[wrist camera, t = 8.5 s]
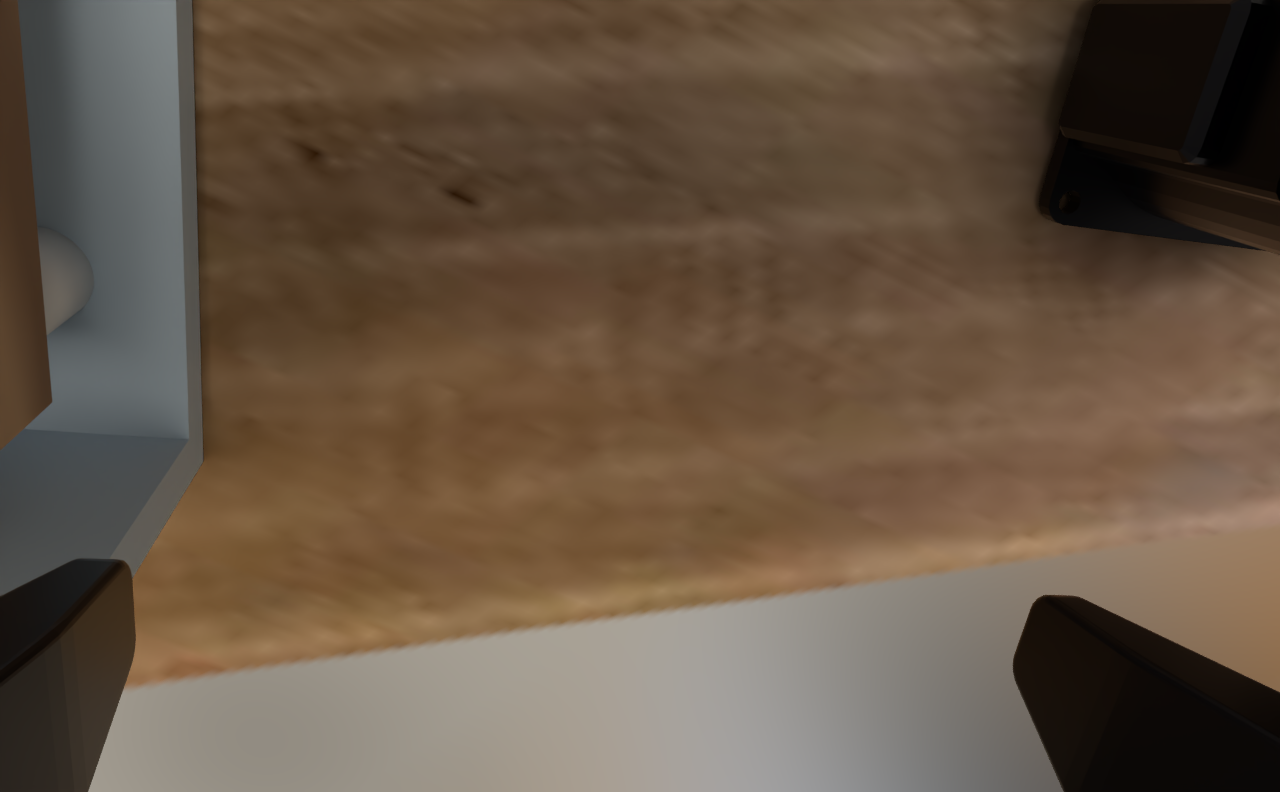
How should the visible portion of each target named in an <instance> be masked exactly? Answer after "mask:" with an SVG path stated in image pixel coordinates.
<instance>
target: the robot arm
mask: <svg viewBox="0 0 1280 792" xmlns="http://www.w3.org/2000/svg"><path fill="white" fill-rule="evenodd" d="M1059 126H1060V132H1059V135H1058V139H1057V142H1056V145H1055V148H1054V152H1053V155H1052V158H1051V162H1050V165H1049V168H1048V172H1047V175H1046V178H1045V182H1044V185H1043V188H1042V192H1041V195H1040V201H1039V207H1040V210H1041V213H1042V214H1043V215H1044V217H1045V218H1047V219H1049V220H1052V221H1055V222H1057V223H1060V224H1063V225H1069V226H1077V227H1085V228H1093V229H1100V230H1108V231H1116V232H1124V233H1131V234H1139V235H1147V236H1155V237H1162V238H1170V239H1178V240H1186V241H1193V242H1201V243H1209V244H1217V245H1224V246H1232V247H1240V248H1248V249H1255V250H1263V251H1269V252H1272V253H1275V254H1278V255H1280V0H1099V2H1098V3H1097V4H1096V5H1095V6H1094V8H1093V10H1092V14H1091V17H1090V20H1089V23H1088V27H1087V30H1086V33H1085V37H1084V40H1083V43H1082V47H1081V50H1080V53H1079V57H1078V60H1077V63H1076V67H1075V70H1074V73H1073V77H1072V80H1071V83H1070V87H1069V90H1068V93H1067V97H1066V100H1065V103H1064V107H1063V110H1062V113H1061V117H1060V120H1059ZM1068 191H1069V193H1070V201H1069V203H1068V205H1067V206H1066V207H1065V208H1063V209H1062V210H1061V209H1060V208H1059V203H1060V199H1061V198H1062V196H1063V195H1064V194H1065V193H1067V192H1068ZM135 641H136V634H135V617H134V600H133V583H132V573H131V570H130V567H129V565H128V564H127V563H126V562H125V561H124V560H119V559H99V558H77V559H74V560H71V561H69V562H67V563H65V564H63V565H61V566H59V567H57V568H55V569H53V570H51V571H49V572H47V573H45V574H43V575H41V576H39V577H37V578H35V579H33V580H31V581H29V582H27V583H25V584H23V585H21V586H19V587H17V588H16V589H14V590H12V591H10V592H8V593H6V594H4V595H2V596H0V792H88V790H89V787H90V785H91V782H92V779H93V776H94V773H95V770H96V767H97V764H98V761H99V758H100V755H101V753H102V749H103V746H104V744H105V741H106V738H107V735H108V732H109V729H110V726H111V723H112V721H113V717H114V715H115V712H116V709H117V706H118V703H119V700H120V697H121V694H122V691H123V689H124V686H125V683H126V680H127V677H128V674H129V671H130V668H131V665H132V661H133V657H134V651H135ZM1013 673H1014V678H1015V681H1016V684H1017V686H1018V689H1019V691H1020V693H1021V696H1022V698H1023V700H1024V702H1025V705H1026V707H1027V709H1028V711H1029V714H1030V716H1031V718H1032V721H1033V723H1034V725H1035V728H1036V730H1037V732H1038V734H1039V736H1040V739H1041V741H1042V744H1043V746H1044V748H1045V750H1046V753H1047V755H1048V757H1049V760H1050V762H1051V764H1052V766H1053V769H1054V771H1055V773H1056V776H1057V778H1058V780H1059V782H1060V785H1061V787H1062V789H1063V791H1064V792H1280V692H1278V691H1276V690H1273V689H1272V688H1270V687H1267V686H1265V685H1263V684H1261V683H1259V682H1257V681H1255V680H1253V679H1250V678H1248V677H1246V676H1244V675H1242V674H1240V673H1238V672H1236V671H1234V670H1232V669H1230V668H1228V667H1225V666H1223V665H1221V664H1219V663H1217V662H1215V661H1213V660H1211V659H1209V658H1206V657H1204V656H1202V655H1200V654H1198V653H1196V652H1194V651H1192V650H1190V649H1187V648H1185V647H1183V646H1181V645H1179V644H1177V643H1175V642H1173V641H1171V640H1169V639H1166V638H1164V637H1162V636H1160V635H1158V634H1156V633H1154V632H1152V631H1150V630H1148V629H1146V628H1143V627H1141V626H1139V625H1137V624H1135V623H1133V622H1131V621H1129V620H1126V619H1124V618H1122V617H1120V616H1118V615H1116V614H1114V613H1112V612H1110V611H1108V610H1106V609H1104V608H1101V607H1099V606H1097V605H1095V604H1093V603H1091V602H1089V601H1087V600H1085V599H1083V598H1080V597H1076V596H1066V595H1043V596H1041V597H1039V598H1038V599H1037V600H1036V601H1035V602H1034V603H1033V605H1032V607H1031V609H1030V612H1029V615H1028V618H1027V621H1026V623H1025V626H1024V629H1023V632H1022V635H1021V637H1020V640H1019V643H1018V646H1017V649H1016V652H1015V655H1014V659H1013Z"/></svg>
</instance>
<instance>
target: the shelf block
mask: <svg viewBox="0 0 1280 792" xmlns="http://www.w3.org/2000/svg"><path fill="white" fill-rule="evenodd" d="M51 403H52V391H51V379H50V368H49V356H48V345H47V333H46V322H45V310H44V299H43V287H42V276H41V264H40V252H39V241H38V229H37V218H36V206H35V195H34V183H33V172H32V160H31V149H30V137H29V126H28V114H27V102H26V91H25V79H24V68H23V56H22V45H21V33H20V22H19V10H18V0H0V450H1V449H3V448H4V447H5V446H6V445H7V444H8V443H9V442H10V441H11V440H12V439H13V438H14V437H15V436H17V435H18V434H19V433H20V432H21V431H22V430H23V429H24V428H25V427H26V426H27V425H28V424H29V423H31V422H32V421H33V420H34V419H35V418H36V417H37V416H38V415H39V414H40V413H41V412H42V411H44V410H45V409H46V408H47V407H48V406H49V405H50V404H51Z"/></svg>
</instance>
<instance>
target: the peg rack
mask: <svg viewBox="0 0 1280 792" xmlns="http://www.w3.org/2000/svg"><path fill="white" fill-rule="evenodd" d="M18 10H19V22H20V33H21V45H22V56H23V68H24V79H25V91H26V102H27V114H28V126H29V137H30V149H31V160H32V172H33V183H34V195H35V206H36V218H37V229H38V241H39V252H40V264H41V276H42V287H43V299H44V310H45V322H46V333H47V345H48V356H49V368H50V379H51V391H52V403H51V404H50V405H49V406H48V407H47V408H46V409H45V410H44V411H42V412H41V413H40V414H39V415H38V416H37V417H36V418H35V419H34V420H33V421H32V422H31V423H29V424H28V425H27V426H26V427H25V428H24V429H23V430H22V431H21V432H20V433H19V434H18V435H17V436H15V437H14V438H13V439H12V440H11V441H10V442H9V443H8V444H7V445H6V446H5V447H4V448H3V449H1V450H0V596H2V595H4V594H6V593H8V592H10V591H12V590H14V589H16V588H17V587H19V586H21V585H23V584H25V583H27V582H29V581H31V580H33V579H35V578H37V577H39V576H41V575H43V574H45V573H47V572H49V571H51V570H53V569H55V568H57V567H59V566H61V565H63V564H65V563H67V562H69V561H71V560H74V559H77V558H99V559H119V560H124V561H125V562H126V563H127V564H128V565H129V567H130V570H131V573H132V578H133V577H134V575H135V573H136V572H137V570H138V568H139V567H140V565H141V563H142V562H143V560H144V558H145V557H146V555H147V553H148V552H149V550H150V549H151V547H152V545H153V544H154V542H155V540H156V539H157V537H158V535H159V534H160V532H161V530H162V529H163V527H164V525H165V524H166V522H167V521H168V519H169V517H170V516H171V514H172V512H173V511H174V509H175V507H176V506H177V504H178V502H179V501H180V499H181V497H182V496H183V494H184V493H185V491H186V489H187V488H188V486H189V484H190V483H191V481H192V479H193V478H194V476H195V474H196V473H197V471H198V469H199V468H200V466H201V465H202V463H203V428H202V387H201V346H200V304H199V263H198V222H197V181H196V140H195V98H194V57H193V16H192V0H18Z"/></svg>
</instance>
